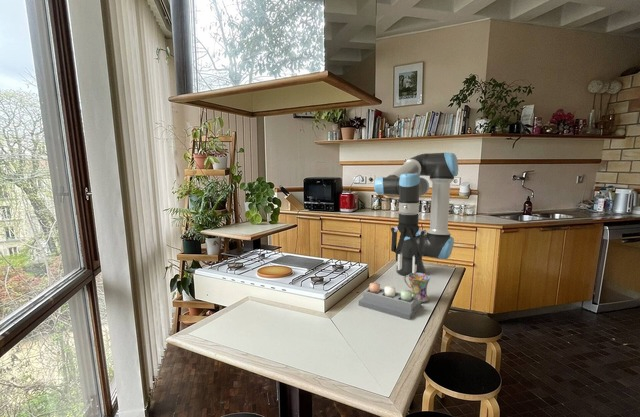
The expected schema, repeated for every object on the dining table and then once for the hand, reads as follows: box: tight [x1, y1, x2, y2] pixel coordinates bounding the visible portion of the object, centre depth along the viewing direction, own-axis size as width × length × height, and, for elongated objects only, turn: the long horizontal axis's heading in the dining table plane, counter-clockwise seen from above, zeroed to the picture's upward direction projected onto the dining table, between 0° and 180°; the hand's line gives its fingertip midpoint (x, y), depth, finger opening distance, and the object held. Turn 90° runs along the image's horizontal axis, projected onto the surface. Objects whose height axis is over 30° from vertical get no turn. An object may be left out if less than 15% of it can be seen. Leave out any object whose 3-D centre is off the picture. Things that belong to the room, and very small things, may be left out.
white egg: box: [384, 285, 396, 298], centre depth 128 cm, size 4×4×4 cm
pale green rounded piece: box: [400, 289, 412, 302], centre depth 124 cm, size 4×4×4 cm
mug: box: [403, 273, 431, 303], centre depth 135 cm, size 12×9×11 cm
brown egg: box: [369, 282, 381, 294], centre depth 133 cm, size 4×4×4 cm
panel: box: [358, 286, 422, 321], centre depth 129 cm, size 14×22×5 cm, turn 54°
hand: (406, 270), depth 123 cm, fingers open, 5 cm apart
